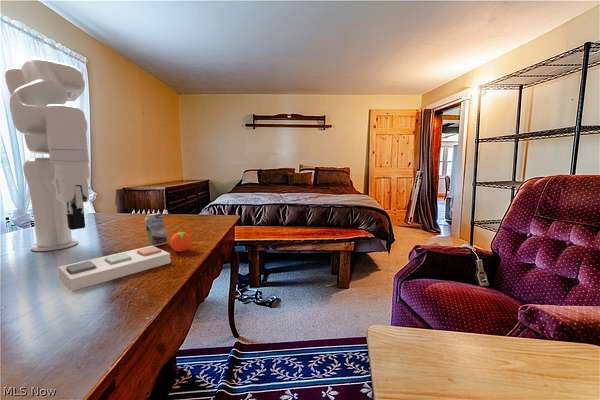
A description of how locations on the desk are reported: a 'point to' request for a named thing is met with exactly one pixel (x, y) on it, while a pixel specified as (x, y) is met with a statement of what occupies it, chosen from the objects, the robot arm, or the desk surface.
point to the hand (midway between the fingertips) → (77, 228)
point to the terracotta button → (148, 251)
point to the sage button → (117, 258)
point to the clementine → (181, 241)
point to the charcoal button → (80, 267)
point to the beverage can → (155, 229)
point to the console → (112, 268)
